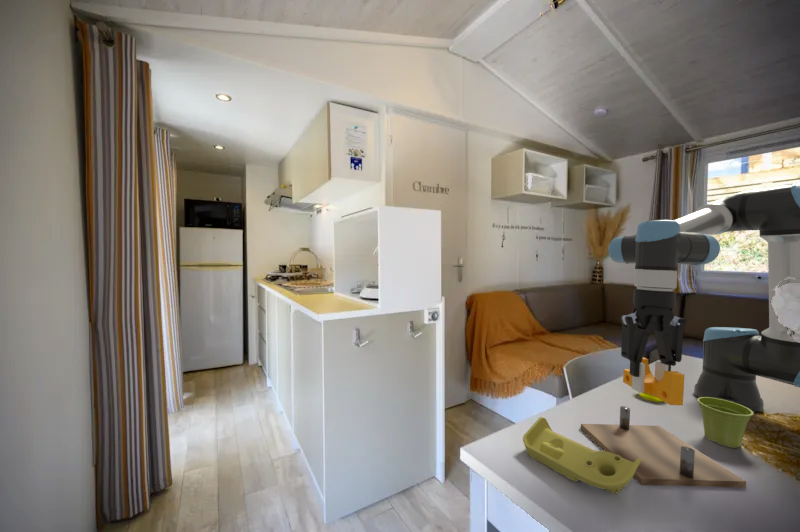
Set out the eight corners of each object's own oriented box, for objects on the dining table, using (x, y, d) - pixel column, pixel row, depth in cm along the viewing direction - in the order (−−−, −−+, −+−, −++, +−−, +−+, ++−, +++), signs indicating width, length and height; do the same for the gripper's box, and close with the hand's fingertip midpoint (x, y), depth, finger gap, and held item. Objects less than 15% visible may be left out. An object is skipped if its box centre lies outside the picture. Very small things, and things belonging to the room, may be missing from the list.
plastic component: (518, 441, 69) (544, 411, 74) (529, 468, 71) (554, 438, 75) (619, 497, 51) (646, 453, 56) (631, 532, 53) (656, 486, 57)
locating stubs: (625, 425, 79) (626, 406, 79) (696, 478, 60) (697, 452, 60) (617, 425, 79) (618, 406, 79) (686, 478, 60) (687, 452, 60)
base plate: (659, 430, 80) (659, 425, 80) (745, 487, 60) (746, 481, 60) (580, 428, 80) (580, 423, 80) (641, 484, 60) (641, 478, 60)
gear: (631, 396, 101) (663, 405, 94) (632, 384, 101) (663, 393, 94) (640, 390, 105) (671, 399, 99) (641, 379, 105) (671, 387, 99)
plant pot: (762, 456, 70) (764, 418, 70) (708, 447, 73) (710, 410, 73) (735, 435, 79) (736, 400, 78) (688, 427, 82) (689, 394, 82)
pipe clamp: (622, 381, 77) (624, 355, 77) (641, 382, 77) (642, 356, 77) (661, 404, 65) (662, 373, 65) (682, 405, 65) (684, 374, 65)
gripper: (678, 289, 75) (673, 386, 75) (604, 286, 75) (600, 382, 76) (709, 292, 67) (703, 399, 68) (627, 289, 68) (621, 396, 68)
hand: (649, 390), depth 72 cm, fingers closed on pipe clamp, 4 cm apart
